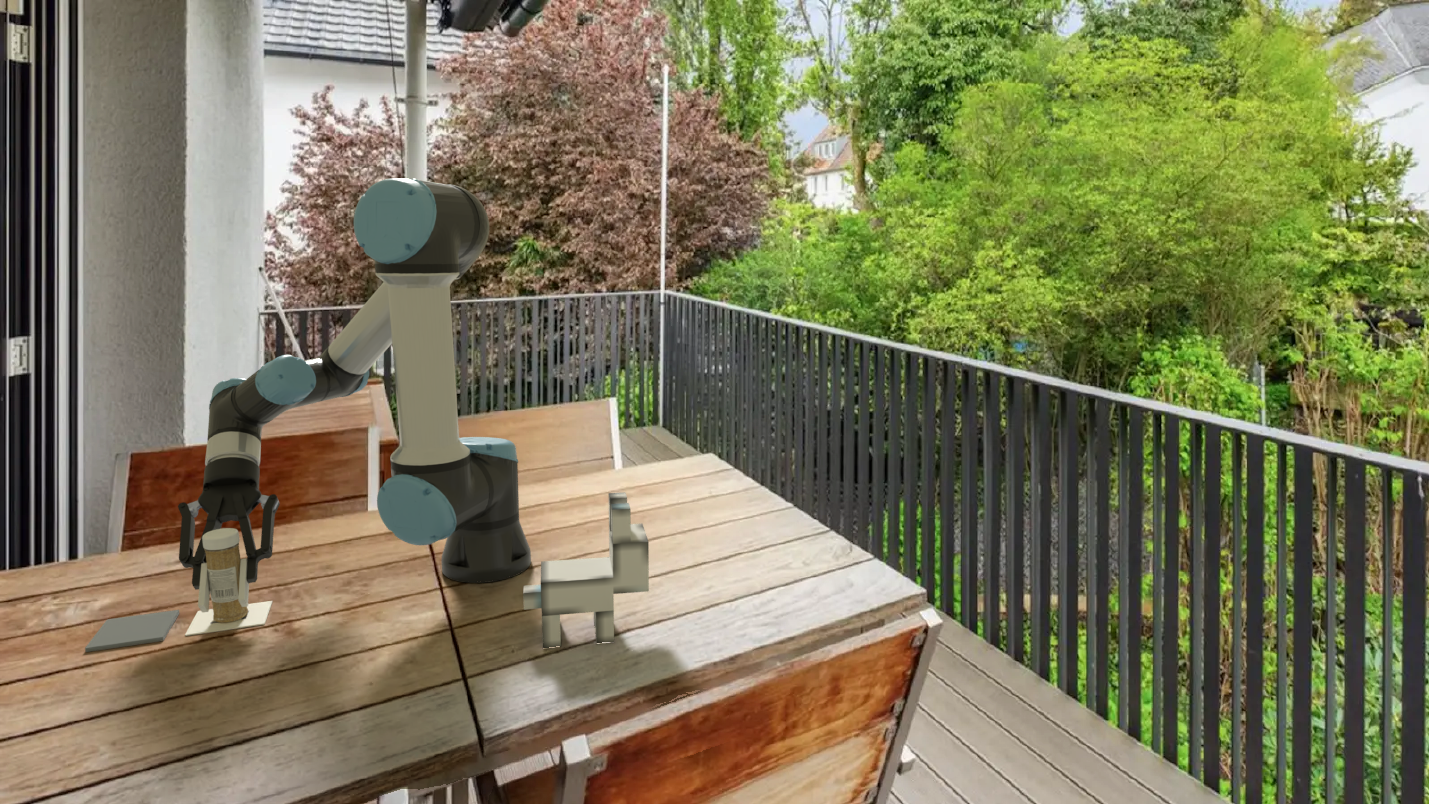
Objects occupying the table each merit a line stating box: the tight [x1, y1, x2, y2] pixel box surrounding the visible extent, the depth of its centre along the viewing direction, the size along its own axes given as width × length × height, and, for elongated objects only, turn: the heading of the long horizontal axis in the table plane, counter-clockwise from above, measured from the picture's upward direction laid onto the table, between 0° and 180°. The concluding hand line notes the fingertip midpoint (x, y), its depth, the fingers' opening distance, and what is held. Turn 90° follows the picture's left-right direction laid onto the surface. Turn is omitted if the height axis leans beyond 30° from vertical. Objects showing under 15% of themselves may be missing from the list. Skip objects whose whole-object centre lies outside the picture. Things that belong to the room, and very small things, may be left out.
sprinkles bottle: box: [201, 527, 248, 623], centre depth 115 cm, size 5×5×13 cm
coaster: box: [84, 609, 180, 653], centre depth 112 cm, size 9×9×1 cm
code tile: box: [184, 600, 273, 637], centre depth 117 cm, size 10×8×1 cm
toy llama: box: [522, 492, 650, 649], centre depth 112 cm, size 8×18×20 cm, turn 102°
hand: (223, 605), depth 112 cm, fingers closed on sprinkles bottle, 4 cm apart
